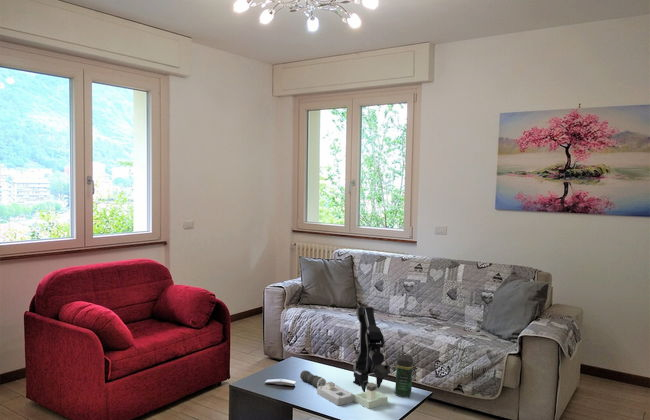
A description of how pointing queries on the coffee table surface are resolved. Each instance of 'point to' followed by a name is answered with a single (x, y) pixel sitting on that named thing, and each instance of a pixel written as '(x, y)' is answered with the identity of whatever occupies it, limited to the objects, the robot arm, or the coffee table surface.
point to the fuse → (330, 385)
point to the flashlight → (312, 379)
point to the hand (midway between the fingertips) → (371, 389)
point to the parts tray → (378, 400)
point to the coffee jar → (404, 376)
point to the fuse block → (336, 395)
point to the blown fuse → (371, 391)
